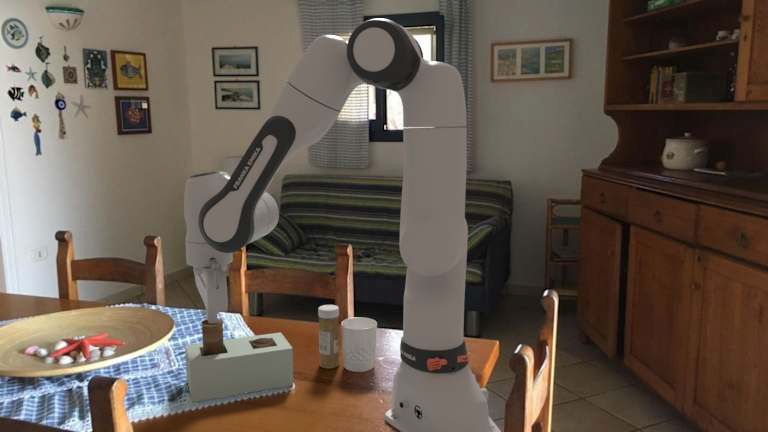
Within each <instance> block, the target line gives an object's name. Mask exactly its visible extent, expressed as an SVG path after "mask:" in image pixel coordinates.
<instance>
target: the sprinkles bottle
mask: <svg viewBox="0 0 768 432" xmlns="http://www.w3.org/2000/svg"><path fill="white" fill-rule="evenodd" d="M317 309H318V310H317V315H318V352H319V361H318V365H319V367H321V368H323V369H334V368H338V367H339V365H340V361H339V356H340V352H339V351H340V343H339V333H340V332H339V316H340V308H339V306H338V305H335V304H323V305H320V306H319V307H318V308H317Z"/></svg>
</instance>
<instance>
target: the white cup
mask: <svg viewBox="0 0 768 432" xmlns="http://www.w3.org/2000/svg"><path fill="white" fill-rule="evenodd" d="M340 326H341V327H340V328H341V329H340V331H341V345H342V357H343V367H344V369H346V370H347V371H350V372H354V373H365V372H368V371H371V370H372V369H373V368H374V367H375V356H376V348H377V333H378V332H377V329H378V322H377V321H376V320H375V319H373V318H369V317H364V316H363V317H361V316H360V317H357V316H356V317H349V318H345V319H344V320H342V321H341V323H340Z"/></svg>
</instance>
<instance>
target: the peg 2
mask: <svg viewBox="0 0 768 432" xmlns="http://www.w3.org/2000/svg"><path fill="white" fill-rule="evenodd" d="M272 346H273V340H272V339H270V338H258V339H255V340H254V341H253V349H258V348H265V347H272Z"/></svg>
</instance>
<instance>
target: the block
mask: <svg viewBox="0 0 768 432" xmlns="http://www.w3.org/2000/svg"><path fill="white" fill-rule="evenodd" d="M258 338H270V339H272V340H273V346H272V347H265V348H258V349H253V341H254V340H255V339H258ZM223 343H224V353H223V354H216V355H209V356H203V342H198V343H192V344H185V345H184V349H185V350H184V351H185V370H186V371H185V372H186V373H185V374H186V384H187V383H188V385H187V388H188V387H189V389H188V392H189V391H190V393H189V396H190V395H191V397H190V400H191V403H196V402H202V401H208V400H213V399H214V398H215V399H219V398H220V397H221V398H225V396H227V397H231V396H230V395H233V396H236V395H235V394H239V395H243V394H242V393H245V394H247V393H246V392H250V393H255V392H254V391H256V392H261V391H267V390H274V389H279V388H284V387H291V386H294V353H293V352H294V351H293V349H294V347H292V345H291V344H290V343H289V341H288V339H286V337H285V335H283V333H282V332H281V331H280V332H274V333H266V334H258V335H251V336H244V337H243V336H242V337H237V338H229V339H228V338H227V339H223ZM260 390H261V391H260ZM221 398H220V399H221ZM215 399H214V400H215Z"/></svg>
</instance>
